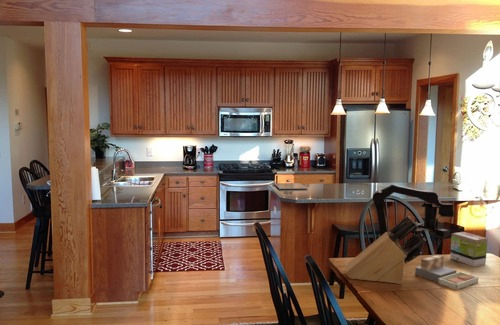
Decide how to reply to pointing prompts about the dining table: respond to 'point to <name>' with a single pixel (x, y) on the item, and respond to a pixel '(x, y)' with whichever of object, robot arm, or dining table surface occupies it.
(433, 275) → the board
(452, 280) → the tile near
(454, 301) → the dining table surface
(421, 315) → the dining table surface
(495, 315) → the dining table surface
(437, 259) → the strip
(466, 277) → the tile far
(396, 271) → the knife block
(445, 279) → the tray
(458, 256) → the tea box
